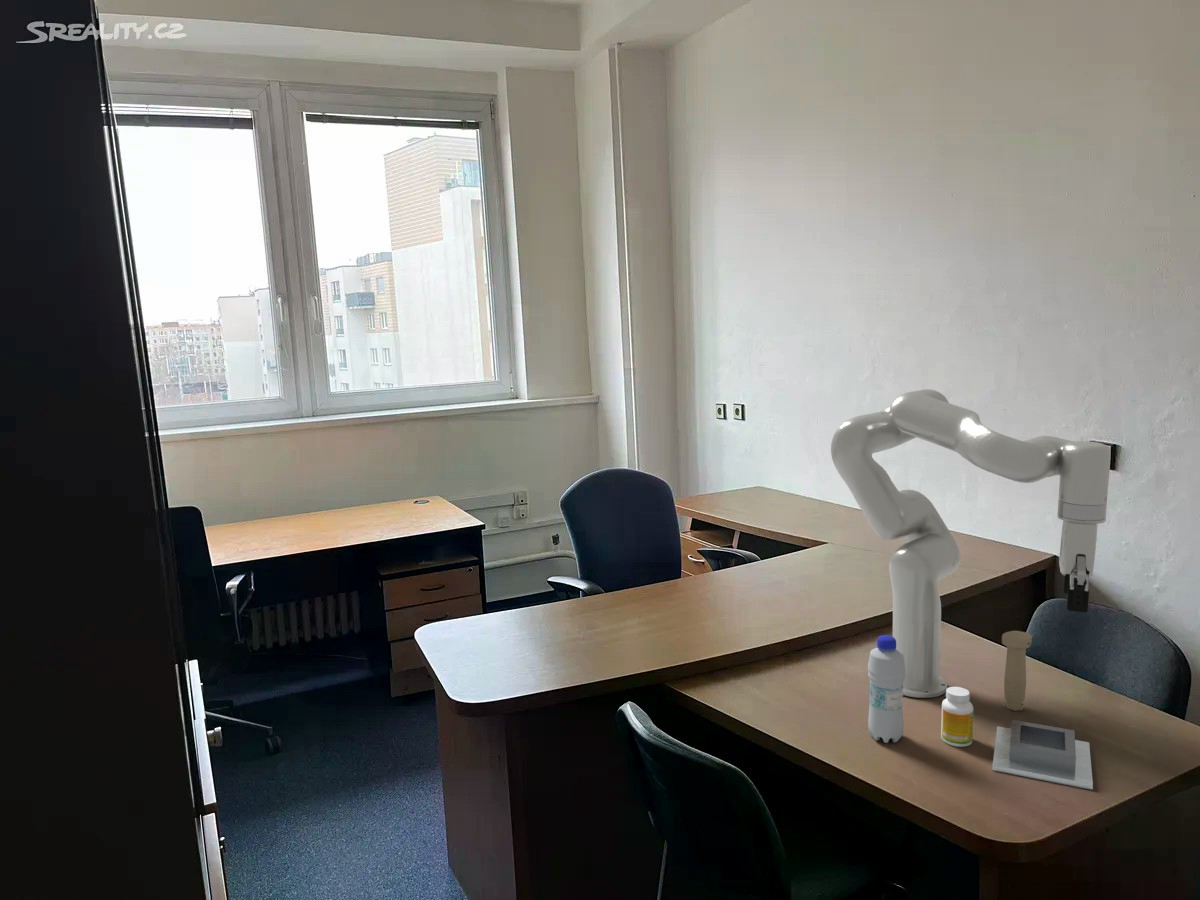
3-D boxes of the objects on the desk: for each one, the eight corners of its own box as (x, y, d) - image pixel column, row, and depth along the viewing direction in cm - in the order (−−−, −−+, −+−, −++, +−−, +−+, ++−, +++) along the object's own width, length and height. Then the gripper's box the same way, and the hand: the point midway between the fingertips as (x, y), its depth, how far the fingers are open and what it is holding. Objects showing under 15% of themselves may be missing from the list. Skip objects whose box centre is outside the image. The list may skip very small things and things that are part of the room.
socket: (992, 770, 145) (993, 748, 145) (997, 731, 158) (997, 711, 158) (1092, 789, 138) (1093, 767, 138) (1088, 747, 151) (1090, 726, 151)
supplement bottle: (975, 748, 152) (977, 698, 151) (944, 746, 154) (945, 696, 152) (968, 734, 158) (970, 685, 156) (938, 732, 159) (939, 684, 157)
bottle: (886, 749, 153) (887, 645, 150) (859, 734, 159) (860, 634, 156) (912, 740, 156) (914, 638, 153) (885, 725, 162) (886, 626, 159)
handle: (1033, 706, 167) (1036, 635, 165) (1018, 717, 163) (1021, 644, 161) (1009, 698, 171) (1012, 628, 169) (994, 709, 167) (996, 637, 165)
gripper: (1055, 498, 159) (1049, 585, 162) (1060, 520, 144) (1053, 615, 147) (1101, 501, 156) (1094, 589, 159) (1111, 524, 141) (1103, 621, 143)
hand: (1075, 602), depth 153 cm, fingers open, 9 cm apart
